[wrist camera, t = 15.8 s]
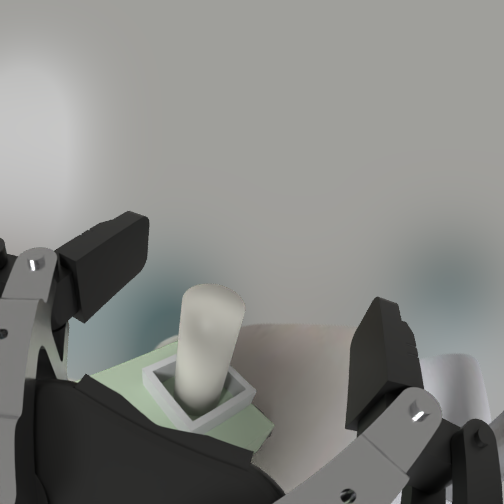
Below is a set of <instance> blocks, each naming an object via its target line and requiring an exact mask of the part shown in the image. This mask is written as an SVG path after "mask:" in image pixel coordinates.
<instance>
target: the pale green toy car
mask: <svg viewBox="0 0 504 504" xmlns="http://www.w3.org/2000/svg"><path fill="white" fill-rule="evenodd" d="M177 347H178V341H176V342H173V343H171V344H169V345H166V346H164V347H161V348H159V349H156V350H154V351H152V352H149V353H147V354H144V355H142V356H139V357H137V358H134V359H132V360H129V361H127V362H124V363H122V364H119V365H117V366H114V367H112V368H109V369H106V370H104V371H101V372H98V373H96V374H93V375H91V376H90V377H92V378H94V379H95V380H97V381H99V382H100V383H102V384H104V385H105V386H107V387H109V388H110V389H112V390H114V391H116V392H118V393H119V394H121V395H122V396H123V397H124V398H125V399H127V400H128V401H129V402H130V403H131V404H132V405H133V406H134V407H136V408H137V409H138V410H139V411H140V412H141V413H143V414H144V415H145V416H146V417H147V418H149V419H150V420H151V421H152V422H154V423H155V424H157V425H159V426H162V427H167V428H171V429H176V430H181V431H186V432H191V433H197V434H203V435H208V436H211V437H214V438H216V439H219V440H222V441H224V442H227V443H230V444H233V445H236V446H238V447H241V448H244V449H247V450H251V451H254V453H256V452H257V451H258V450H259V448H260V447H261V445H262V444H263V442H264V441H265V440H266V439H267V438H268V437H269V436H270V435H271V433H272V429H273V428H274V426H275V425H274V424H273V423H272V422H271V421H270V420H269V419H268V418H266V416H265V415H264V414H263V413H262V412H261V411H260V410H259V409H258V408H257V407H255V406H254V405H253V404H252V403H251V402H252V400H253V398H254V396H255V394H256V391H257V390H256V389H255V388H254V387H253V386H251V385H250V384H249V383H248V382H247V381H246V380H245V379H244V378H243V377H242V376H241V375H240V374H239V373H238V372H237V371H236V370H235V369H234V368H233V367H232V366H231V365H229V369H228V372H227V375H226V379H225V382H224V386H223V389H222V392H221V396H220V399H219V403H218V405H217V407H216V408H215V409H213V410H212V411H210V412H208V413H207V414H205V415H203V416H194V415H190V414H187V413H185V412H184V411H183V409H182V408H181V407H180V406H179V405H178V403H177V402H176V401H175V400H174V383H175V370H176V358H177ZM80 380H81V379H80ZM80 380H77V381H74V382H77V383H78V382H79V381H80ZM254 453H253V454H254Z"/></svg>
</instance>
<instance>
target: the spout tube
mask: <svg viewBox="0 0 504 504" xmlns="http://www.w3.org/2000/svg"><path fill="white" fill-rule="evenodd" d="M244 314H245V303H244V301H243V300H242V298H241V297H240V296H239V295H238V294H237V293H236V292H234V291H233V290H231V289H229V288H227V287H224V286H221V285H217V284H199V285H196V286H193V287H192V288H190V289H189V290H187V291H186V292H185V294H184V296H183V299H182V309H181V318H180V327H179V337H178V347H177V358H176V370H175V383H174V400H175V401H176V402H177V403H178V405H179V406H180V407H181V408H182V409H183V411H184V412H185V413H187V414H190V415H194V416H203V415H205V414H207V413H208V412H210V411H212V410H213V409H215V408H216V407H217V405H218V403H219V399H220V396H221V392H222V389H223V386H224V382H225V379H226V375H227V372H228V369H229V365H230V362H231V358H232V355H233V352H234V348H235V345H236V341H237V338H238V334H239V331H240V328H241V324H242V320H243V317H244Z"/></svg>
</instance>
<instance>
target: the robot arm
mask: <svg viewBox="0 0 504 504" xmlns="http://www.w3.org/2000/svg"><path fill="white" fill-rule="evenodd" d="M148 236H149V219H148V218H147V217H146V216H142V215H140V214H137V213H134V212H131V211H127V212H125V213H123V214H122V215H120V216H118V217H116V218H115V219H113V220H109V221H105V222H102V223H99V224H97V225H96V226H94V227H92V228H90V230H87V231H85V232H84V233H82V235H79V236H77V237H75V238H74V239H72V240H71V241H69V242H67V243H66V244H64V245H63V246H61V247H59V248H58V249H56V250H55V251H53V250H51V249H48V248H42V247H39V248H32V249H29V250H26V251H24V252H23V253H21V254H20V255H19V256H14V255H10V254H7V253H6V248H5V243H4V240H3V239H1V238H0V504H391V503H392V501H393V500H394V499H395V498H396V497H397V495H398V494H399V493H400V492H401V490H402V497H401V504H446V500H448V501H451V502H452V504H503V501H502V500H503V498H502V481H504V411H503V412H502V413H501V414H500V415H499V416H498V417H497V418H496V419H494V420H493V421H492V422H491V423H490V424H489V425H488V424H487V423H485V422H484V421H482V420H479V419H472V420H470V421H468V422H467V423H466V424H465V425H464V426H463V427H461V428H460V427H458V426H456V425H454V424H452V423H450V422H449V421H447V420H445V419H443V418H442V411H441V407H440V405H439V403H438V401H437V400H436V399H435V397H434V396H433V395H431V394H430V393H429V392H427V391H426V390H424V385H423V379H422V374H421V368H420V363H419V358H417V357H418V352H417V348H416V343H415V338H414V334H413V332H412V331H411V329H410V328H409V326H408V324H407V323H406V322H403V321H401V316H400V311H399V306H398V304H397V303H394V302H391V301H389V300H386V299H383V298H380V297H376V298H375V299H374V300H373V301H372V303H371V305H370V307H369V309H368V310H367V312H366V314H365V316H364V318H363V319H362V321H361V323H360V325H359V326H358V328H357V330H356V332H355V334H354V336H353V339H352V342H351V347H350V366H349V385H348V400H347V412H346V423H345V429H349V430H354V431H357V438H356V439H355V440H354V441H353V442H352V443H351V444H350V445H349V446H348V447H346V448H345V449H344V450H343V451H342V452H341V453H340V454H338V455H337V456H336V457H335V458H334V459H332V460H331V461H330V462H329V463H328V464H326V465H325V466H324V467H323V468H321V469H320V470H319V471H318V472H316V473H315V474H314V475H312V476H311V477H310V478H308V479H307V480H306V481H304V482H303V483H302V484H300V485H299V486H298V487H296V488H295V489H293V490H292V491H291V492H289V493H288V494H286V495H285V493H284V492H283V490H282V489H281V488H280V486H279V485H278V484H277V483H276V482H275V481H274V480H273V479H272V478H271V477H270V476H269V475H268V474H267V473H265V472H264V471H262V470H261V469H260V468H258V467H257V466H255V465H253V464H252V463H250V462H251V459H252V456H253V453H254V451H251V450H247V449H244V448H241V447H238V446H236V445H233V444H230V443H227V442H224V441H222V440H219V439H216V438H214V437H211V436H208V435H203V434H197V433H191V432H186V431H181V430H176V429H171V428H167V427H162V426H159V425H157V424H155V423H154V422H152V421H151V420H150V419H149V418H147V417H146V416H145V415H144V414H143V413H141V412H140V411H139V410H138V409H137V408H136V407H134V406H133V405H132V404H131V403H130V402H129V401H128V400H127V399H125V398H124V397H123V396H122V395H121V394H119V393H118V392H116V391H114V390H112V389H110V388H109V387H107V386H105V385H104V384H102V383H100V382H99V381H97V380H95V379H94V378H92V377H90V376H89V375H87V374H85V375H84V377H83V378H82V379H81V380H80V381H79V382H78V383H77V382H73V381H69V380H68V377H67V351H68V336H69V323H68V320H69V319H70V318H71V317H72V316H73V317H74V318H76V319H78V320H79V321H81V322H83V323H85V322H87V321H88V320H89V319H90V318H91V317H92V316H93V315H94V314H95V313H96V312H97V311H98V310H99V309H100V308H101V307H102V306H103V305H104V304H106V303H107V302H108V301H109V300H110V299H111V298H112V297H113V296H114V295H115V294H116V293H117V292H118V291H120V290H121V289H122V288H123V287H124V286H125V285H126V284H127V283H128V282H129V281H130V280H132V279H133V278H134V277H135V276H136V275H137V274H138V273H139V272H140V271H141V270H142V269H143V267H144V265H145V263H146V260H147V252H148Z"/></svg>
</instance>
